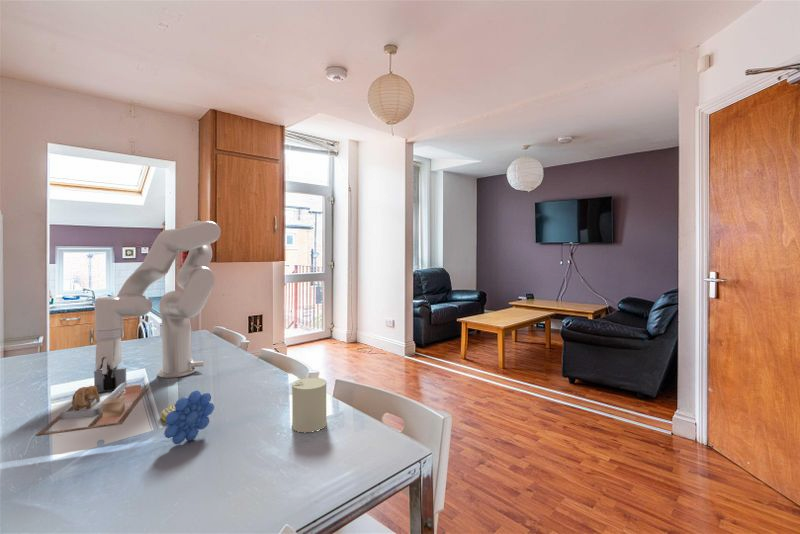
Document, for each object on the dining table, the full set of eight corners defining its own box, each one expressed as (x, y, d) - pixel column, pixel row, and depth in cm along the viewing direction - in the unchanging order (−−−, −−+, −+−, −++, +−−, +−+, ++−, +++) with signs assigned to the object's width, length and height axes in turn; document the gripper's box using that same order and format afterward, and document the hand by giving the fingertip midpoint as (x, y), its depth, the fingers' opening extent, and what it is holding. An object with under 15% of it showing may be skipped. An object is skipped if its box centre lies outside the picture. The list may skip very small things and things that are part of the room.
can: (289, 421, 104) (289, 378, 103) (323, 415, 107) (323, 374, 107) (294, 436, 95) (294, 389, 95) (330, 429, 99) (330, 384, 98)
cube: (124, 410, 108) (124, 396, 107) (120, 416, 104) (120, 402, 104) (107, 412, 106) (107, 398, 106) (102, 418, 102) (102, 404, 102)
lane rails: (148, 391, 125) (148, 388, 125) (121, 427, 99) (121, 423, 99) (82, 399, 119) (82, 395, 119) (36, 439, 93) (35, 434, 93)
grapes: (206, 426, 100) (205, 382, 100) (219, 434, 96) (218, 387, 96) (157, 444, 91) (156, 395, 90) (169, 453, 87) (168, 402, 86)
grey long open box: (126, 387, 129) (126, 367, 128) (98, 418, 105) (97, 393, 105) (96, 390, 126) (95, 370, 125) (60, 422, 102) (59, 397, 102)
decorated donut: (211, 418, 106) (211, 405, 106) (168, 431, 98) (168, 417, 98) (198, 407, 113) (198, 395, 113) (157, 419, 105) (156, 405, 105)
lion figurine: (95, 419, 104) (94, 387, 104) (70, 424, 101) (69, 391, 101) (101, 402, 116) (101, 373, 116) (79, 405, 113) (78, 376, 113)
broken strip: (142, 392, 124) (142, 383, 124) (117, 425, 100) (117, 414, 100) (125, 394, 122) (125, 385, 122) (95, 428, 99) (95, 417, 98)
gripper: (104, 330, 132) (105, 382, 132) (86, 339, 117) (87, 398, 118) (130, 328, 134) (131, 379, 135) (115, 338, 120) (116, 395, 120)
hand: (110, 387), depth 126 cm, fingers closed
